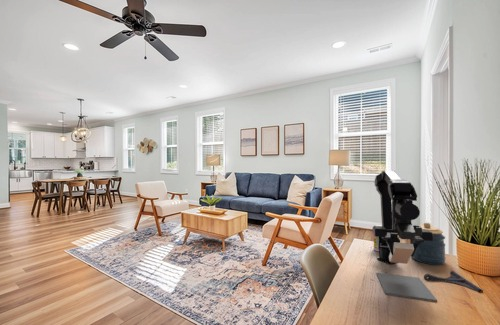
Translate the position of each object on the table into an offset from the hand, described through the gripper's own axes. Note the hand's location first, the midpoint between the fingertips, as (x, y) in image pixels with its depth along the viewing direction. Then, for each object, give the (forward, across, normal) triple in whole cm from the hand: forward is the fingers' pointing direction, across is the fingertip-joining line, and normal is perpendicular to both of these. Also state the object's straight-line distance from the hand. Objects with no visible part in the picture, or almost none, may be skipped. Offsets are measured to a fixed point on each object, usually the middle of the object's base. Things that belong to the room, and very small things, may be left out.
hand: (401, 255), depth 87 cm
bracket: (+12, +17, +9) cm, 22 cm away
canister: (+11, +18, +30) cm, 37 cm away
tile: (+4, 0, +6) cm, 7 cm away
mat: (+11, 0, -1) cm, 11 cm away
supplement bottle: (+11, 0, +37) cm, 39 cm away
